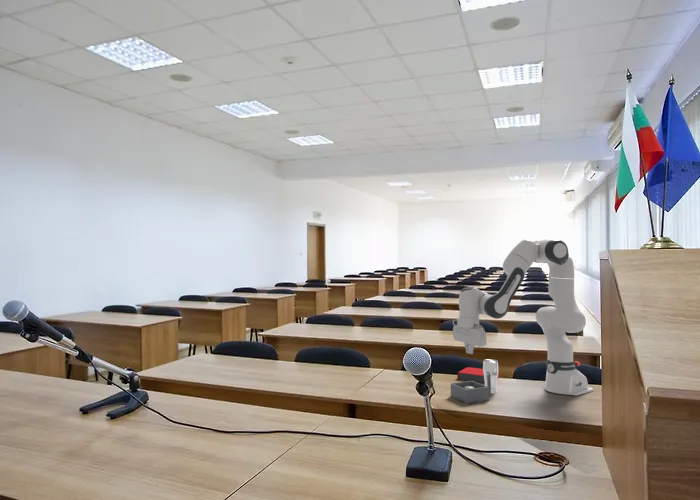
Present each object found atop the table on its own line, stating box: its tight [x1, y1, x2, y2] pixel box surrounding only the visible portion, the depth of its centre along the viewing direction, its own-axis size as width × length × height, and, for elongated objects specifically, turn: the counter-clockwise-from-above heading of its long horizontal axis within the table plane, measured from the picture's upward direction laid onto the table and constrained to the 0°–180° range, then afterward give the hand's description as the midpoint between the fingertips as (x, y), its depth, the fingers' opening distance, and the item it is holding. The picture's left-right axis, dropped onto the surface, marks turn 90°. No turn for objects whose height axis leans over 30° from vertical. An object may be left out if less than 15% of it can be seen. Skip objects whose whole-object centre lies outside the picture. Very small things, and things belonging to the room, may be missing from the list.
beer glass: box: [482, 358, 499, 394], centre depth 225 cm, size 7×7×15 cm
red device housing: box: [456, 366, 501, 384], centre depth 248 cm, size 18×14×5 cm
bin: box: [450, 380, 490, 405], centre depth 216 cm, size 12×12×6 cm
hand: (469, 353), depth 216 cm, fingers closed
